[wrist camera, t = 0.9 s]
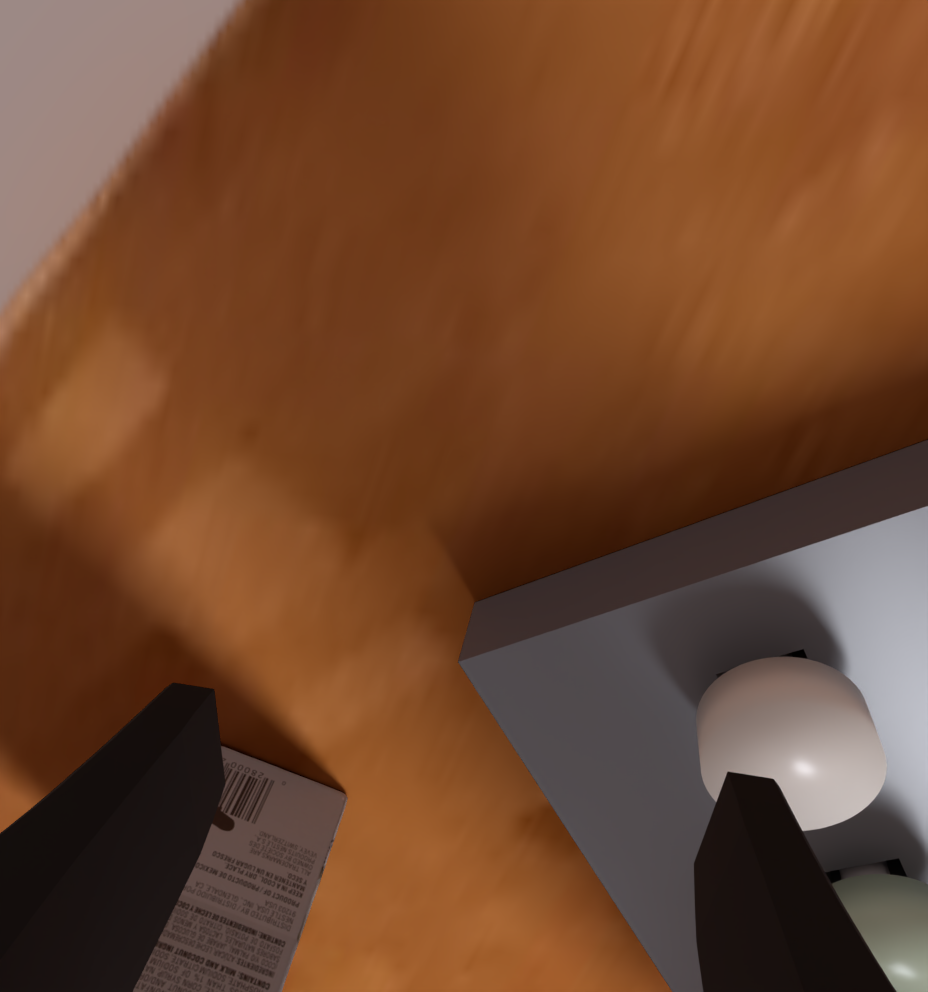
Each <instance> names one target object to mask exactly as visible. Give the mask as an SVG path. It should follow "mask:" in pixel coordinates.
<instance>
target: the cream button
mask: <svg viewBox="0 0 928 992" xmlns="http://www.w3.org/2000/svg"><path fill="white" fill-rule="evenodd" d="M696 727H697V737H698V747H699V756H700V766H701V775H702V779H703V782H704V785H705V787H706V789H707V791H708V792H709V794H710V795H711V797H712V798H713V799H714V800H715V801H716V802H717V799H718V796H719V794H720V791H721V788H722V785H723V783H724V780H725V777H726V775H727V772H734V773H741V774H747V775H753V776H759V777H766V778H772V779H774V780H775V781H776V783H777V784H778V785H779V787H780V788H781V790H782V792H783V794H784V796H785V798H786V800H787V802H788V804H789V806H790V808H791V810H792V812H793V814H794V816H795V818H796V820H797V821H798V823H799V825H800V827H801V829H802V831H807V830H815V829H821V828H825V827H828V826H832V825H835V824H838V823H840V822H843V821H845V820H847V819H849V818H851V817H853V816H854V815H856V814H858V813H859V812H861V811H862V810H863V809H864V808H866V807H867V806H868V805H869V804H870V803H871V802H872V801H873V800H874V799H875V797H876V796H877V795H878V793H879V792H880V790H881V788H882V786H883V784H884V781H885V777H886V770H887V763H886V756H885V753H884V750H883V747H882V744H881V742H880V739H879V736H878V733H877V731H876V728H875V725H874V722H873V720H872V717H871V714H870V711H869V709H868V706H867V703H866V700H865V698H864V697H863V695H862V693H861V691H860V690H859V689H858V687H857V686H856V685H855V684H854V683H853V682H852V681H851V680H850V679H849V678H848V677H846V676H845V675H844V674H842V673H841V672H839V671H838V670H836V669H834V668H832V667H830V666H828V665H825V664H823V663H820V662H817V661H813V660H809V659H804V658H798V657H793V656H792V653H788V654H785V655H781V656H778V657H770V658H762V659H758V660H754V661H750V662H747V663H744V664H741V665H739V666H737V667H735V668H733V669H731V670H729V671H727V672H726V673H724V674H723V675H721V676H720V677H719V678H718V679H716V680H715V681H714V682H713V683H712V684H711V685H710V686H709V687H708V689H707V690H706V691H705V693H704V694H703V696H702V698H701V700H700V702H699V705H698V709H697V714H696Z"/></svg>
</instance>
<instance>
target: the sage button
mask: <svg viewBox="0 0 928 992" xmlns="http://www.w3.org/2000/svg"><path fill="white" fill-rule="evenodd" d="M839 872H840V875H841V879H842V880H840V881H837V882H835V883H832V886H833V888H834V889H835V891H836V893H837V895H838V896H839V898H840V900H841V902H842V903H843V905H844V907H845V908H846V910H847V912H848V913H849V915H850V917H851V918H852V920H853V922H854V923H855V925H856V927H857V928H858V930H859V932H860V933H861V935H862V937H863V938H864V940H865V942H866V943H867V945H868V947H869V948H870V950H871V952H872V953H873V955H874V957H875V958H876V960H877V962H878V963H879V965H880V966H881V968H882V970H883V971H884V973H885V974H886V976H887V977H888V979H889V981H890V982H891V984H892V985H893V987H894V989H895V990H896V992H928V884H926V883H924V882H921V881H919V880H915V879H912V878H908V877H903V876H898V875H890V872H889V869H888V866H887V863H886V861H882V862H876V863H871V864H866V865H861V866H855V867H850V868H845V869H839Z"/></svg>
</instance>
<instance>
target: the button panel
mask: <svg viewBox="0 0 928 992" xmlns="http://www.w3.org/2000/svg"><path fill="white" fill-rule="evenodd" d="M788 653H792V656H793V657H798V658H804V659H809V660H813V661H817V662H820V663H823V664H825V665H828V666H830V667H832V668H834V669H836V670H838V671H839V672H841V673H842V674H844V675H845V676H846V677H848V678H849V679H850V680H851V681H852V682H853V683H854V684H855V685H856V686H857V687H858V689H859V690H860V691H861V693H862V695H863V697H864V698H865V700H866V703H867V706H868V709H869V711H870V714H871V717H872V720H873V722H874V725H875V728H876V731H877V733H878V736H879V739H880V742H881V744H882V747H883V750H884V753H885V756H886V763H887V770H886V777H885V781H884V784H883V786H882V788H881V790H880V792H879V793H878V795H877V796H876V797H875V799H874V800H873V801H872V802H871V803H870V804H869V805H868V806H867V807H866V808H864V809H863V810H862V811H861V812H859V813H858V814H856V815H854V816H853V817H851V818H849V819H847V820H845V821H843V822H840V823H838V824H835V825H832V826H828V827H825V828H821V829H815V830H807V831H803V833H804V835H805V837H806V838H807V840H808V842H809V844H810V846H811V848H812V850H813V852H814V853H815V855H816V857H817V859H818V861H819V862H820V864H821V866H822V868H823V870H824V871H825V873H826V875H827V877H828V879H829V880H830V882H831V884H832V883H835V882H837V881H840V880H842V879H841V875H840V872H839V869H845V868H850V867H855V866H861V865H866V864H871V863H876V862H882V861H886V863H887V866H888V869H889V872H890V875H898V876H903V877H908V878H912V879H915V880H919V881H921V882H924V883H926V884H928V440H926V441H923V442H920V443H917V444H915V445H912V446H909V447H906V448H904V449H901V450H898V451H895V452H892V453H890V454H887V455H884V456H881V457H878V458H876V459H873V460H870V461H867V462H865V463H862V464H859V465H856V466H853V467H851V468H848V469H845V470H842V471H840V472H837V473H834V474H831V475H828V476H826V477H823V478H820V479H817V480H815V481H812V482H809V483H806V484H803V485H801V486H798V487H795V488H792V489H789V490H787V491H784V492H781V493H778V494H776V495H773V496H770V497H767V498H764V499H762V500H759V501H756V502H753V503H751V504H748V505H745V506H742V507H739V508H737V509H734V510H731V511H728V512H725V513H723V514H720V515H717V516H714V517H712V518H709V519H706V520H703V521H700V522H698V523H695V524H692V525H689V526H687V527H684V528H681V529H678V530H675V531H673V532H670V533H667V534H664V535H662V536H659V537H656V538H653V539H650V540H648V541H645V542H642V543H639V544H636V545H634V546H631V547H628V548H625V549H623V550H620V551H617V552H614V553H611V554H609V555H606V556H603V557H600V558H598V559H595V560H592V561H589V562H586V563H584V564H581V565H578V566H575V567H572V568H570V569H567V570H564V571H561V572H559V573H556V574H553V575H550V576H547V577H545V578H542V579H539V580H536V581H534V582H531V583H528V584H525V585H522V586H520V587H517V588H514V589H511V590H509V591H506V592H503V593H500V594H497V595H495V596H492V597H489V598H486V599H483V600H481V601H478V602H475V603H474V607H473V610H472V614H471V617H470V621H469V624H468V628H467V632H466V635H465V639H464V642H463V646H462V650H461V653H460V657H459V660H458V663H459V664H460V666H461V667H462V669H463V670H464V672H465V673H466V675H467V676H468V678H469V680H470V681H471V683H472V684H473V686H474V687H475V689H476V690H477V692H478V693H479V695H480V696H481V698H482V700H483V701H484V703H485V704H486V706H487V707H488V709H489V710H490V712H491V713H492V715H493V716H494V718H495V720H496V721H497V723H498V724H499V726H500V727H501V729H502V730H503V732H504V733H505V735H506V736H507V738H508V740H509V741H510V743H511V744H512V746H513V747H514V749H515V750H516V752H517V753H518V755H519V756H520V758H521V760H522V761H523V763H524V764H525V766H526V767H527V769H528V770H529V772H530V773H531V775H532V776H533V778H534V780H535V781H536V783H537V784H538V786H539V787H540V789H541V790H542V792H543V793H544V795H545V796H546V798H547V800H548V801H549V803H550V804H551V806H552V807H553V809H554V810H555V812H556V813H557V815H558V816H559V818H560V820H561V821H562V823H563V824H564V826H565V827H566V829H567V830H568V832H569V833H570V835H571V836H572V838H573V840H574V841H575V843H576V844H577V846H578V847H579V849H580V850H581V852H582V853H583V855H584V856H585V858H586V860H587V861H588V863H589V864H590V866H591V867H592V869H593V870H594V872H595V873H596V875H597V876H598V878H599V880H600V881H601V883H602V884H603V886H604V887H605V889H606V890H607V892H608V893H609V895H610V896H611V898H612V900H613V901H614V903H615V904H616V906H617V907H618V909H619V910H620V912H621V913H622V915H623V916H624V918H625V920H626V921H627V923H628V924H629V926H630V927H631V929H632V930H633V932H634V933H635V935H636V936H637V938H638V940H639V941H640V943H641V944H642V946H643V947H644V949H645V950H646V952H647V953H648V955H649V956H650V958H651V960H652V961H653V963H654V964H655V966H656V967H657V969H658V970H659V972H660V973H661V975H662V976H663V978H664V980H665V981H666V983H667V984H668V986H669V987H670V989H671V990H672V992H703V986H702V979H701V972H700V965H699V958H698V950H697V943H696V922H695V893H694V861H695V859H696V856H697V853H698V851H699V848H700V845H701V842H702V840H703V837H704V834H705V832H706V829H707V826H708V823H709V821H710V818H711V815H712V813H713V810H714V807H715V804H716V801H715V800H714V799H713V798H712V797H711V795H710V794H709V792H708V791H707V789H706V787H705V785H704V782H703V779H702V775H701V766H700V756H699V747H698V737H697V727H696V714H697V709H698V705H699V702H700V700H701V698H702V696H703V694H704V693H705V691H706V690H707V689H708V687H709V686H710V685H711V684H712V683H713V682H714V681H715V680H716V679H718V678H719V677H720V676H721V675H723V674H724V673H726V672H727V671H729V670H731V669H733V668H735V667H737V666H739V665H741V664H744V663H747V662H750V661H754V660H758V659H762V658H770V657H778V656H781V655H785V654H788Z"/></svg>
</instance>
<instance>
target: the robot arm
mask: <svg viewBox="0 0 928 992" xmlns="http://www.w3.org/2000/svg"><path fill="white" fill-rule="evenodd" d="M225 785H226V784H225V775H224V767H223V758H222V750H221V742H220V733H219V725H218V716H217V708H216V699H215V691H214V689H210V688H203V687H197V686H191V685H185V684H178V683H172V684H171V685H169V686H168V687H166V688H165V689H164V690H163V691H162V692H161V693H160V694H159V695H158V696H157V697H156V698H154V699H153V700H152V701H151V702H150V703H149V704H148V705H147V706H146V707H145V708H144V709H143V710H142V711H140V712H139V713H138V714H137V715H136V716H135V717H134V718H133V719H132V720H131V721H130V722H129V723H128V724H127V725H125V726H124V727H123V728H122V729H121V730H120V731H119V732H118V733H117V734H116V735H115V736H113V737H112V738H111V739H110V740H109V741H108V742H107V743H106V744H105V745H104V746H102V747H101V748H100V749H99V750H98V751H97V752H96V753H95V754H94V755H93V756H91V757H90V758H89V759H88V760H87V761H86V762H85V763H83V764H82V765H81V766H80V767H79V768H78V769H77V770H75V771H74V772H73V773H72V774H71V775H70V776H69V777H67V778H66V779H65V780H64V781H63V782H62V783H60V784H59V785H58V786H57V787H56V788H55V789H54V790H52V791H51V792H50V793H49V794H48V795H47V796H46V797H44V798H43V799H42V800H41V801H40V802H38V803H37V804H36V805H35V806H34V807H32V808H31V809H30V810H29V811H28V812H26V813H25V814H24V815H23V816H21V817H20V818H19V819H18V820H16V821H15V822H14V823H13V824H11V825H10V826H9V827H8V828H6V829H5V830H4V831H3V832H1V833H0V992H133V990H134V988H135V986H136V984H137V982H138V980H139V978H140V976H141V974H142V972H143V970H144V968H145V966H146V964H147V962H148V960H149V958H150V956H151V954H152V952H153V950H154V948H155V946H156V944H157V942H158V940H159V938H160V936H161V934H162V932H163V930H164V928H165V926H166V924H167V922H168V920H169V918H170V916H171V914H172V912H173V910H174V908H175V905H176V903H177V901H178V899H179V897H180V895H181V893H182V891H183V889H184V887H185V885H186V883H187V881H188V879H189V877H190V875H191V873H192V871H193V869H194V867H195V864H196V862H197V860H198V858H199V856H200V854H201V851H202V849H203V846H204V843H205V841H206V838H207V835H208V833H209V830H210V827H211V825H212V822H213V819H214V816H215V813H216V810H217V808H218V805H219V802H220V799H221V796H222V793H223V790H224V788H225ZM694 893H695V922H696V943H697V950H698V958H699V965H700V972H701V979H702V986H703V992H896V990H895V989H894V987H893V985H892V984H891V982H890V981H889V979H888V977H887V976H886V974H885V973H884V971H883V970H882V968H881V966H880V965H879V963H878V962H877V960H876V958H875V957H874V955H873V953H872V952H871V950H870V948H869V947H868V945H867V943H866V942H865V940H864V938H863V937H862V935H861V933H860V932H859V930H858V928H857V927H856V925H855V923H854V922H853V920H852V918H851V917H850V915H849V913H848V912H847V910H846V908H845V907H844V905H843V903H842V902H841V900H840V898H839V896H838V895H837V893H836V891H835V889H834V888H833V886H832V884H831V882H830V880H829V879H828V877H827V875H826V873H825V871H824V870H823V868H822V866H821V864H820V862H819V861H818V859H817V857H816V855H815V853H814V852H813V850H812V848H811V846H810V844H809V842H808V840H807V838H806V837H805V835H804V833H803V831H802V829H801V827H800V825H799V823H798V821H797V820H796V818H795V816H794V814H793V812H792V810H791V808H790V806H789V804H788V802H787V800H786V798H785V796H784V794H783V792H782V790H781V788H780V787H779V785H778V784H777V783H776V781H775V780H774V779H772V778H766V777H759V776H753V775H747V774H741V773H734V772H727V775H726V777H725V780H724V783H723V785H722V788H721V791H720V794H719V796H718V799H717V802H716V804H715V807H714V810H713V813H712V815H711V818H710V821H709V823H708V826H707V829H706V832H705V834H704V837H703V840H702V842H701V845H700V848H699V851H698V853H697V856H696V859H695V861H694Z"/></svg>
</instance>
